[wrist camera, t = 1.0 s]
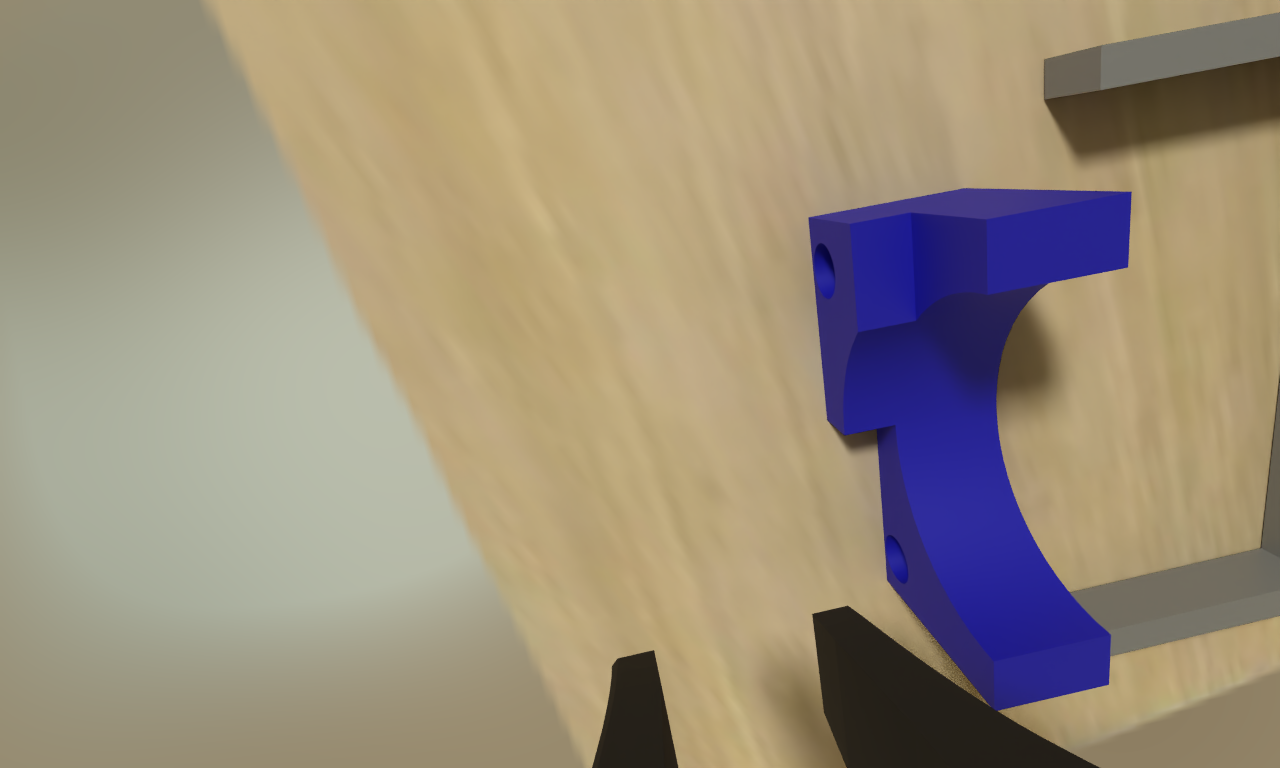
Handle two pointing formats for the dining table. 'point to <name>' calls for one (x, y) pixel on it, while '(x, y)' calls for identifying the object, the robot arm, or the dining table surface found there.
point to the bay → (1276, 570)
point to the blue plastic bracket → (960, 412)
